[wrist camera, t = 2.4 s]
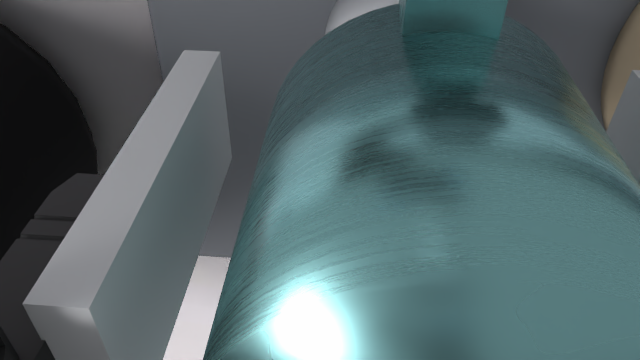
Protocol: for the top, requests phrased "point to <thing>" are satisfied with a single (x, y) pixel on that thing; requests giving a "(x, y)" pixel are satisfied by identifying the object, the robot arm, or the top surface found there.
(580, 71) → the grey tray with posts
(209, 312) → the top surface
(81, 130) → the coffee jar
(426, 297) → the teal rounded piece
